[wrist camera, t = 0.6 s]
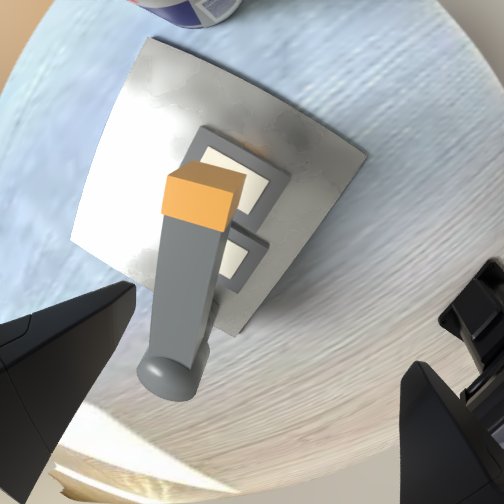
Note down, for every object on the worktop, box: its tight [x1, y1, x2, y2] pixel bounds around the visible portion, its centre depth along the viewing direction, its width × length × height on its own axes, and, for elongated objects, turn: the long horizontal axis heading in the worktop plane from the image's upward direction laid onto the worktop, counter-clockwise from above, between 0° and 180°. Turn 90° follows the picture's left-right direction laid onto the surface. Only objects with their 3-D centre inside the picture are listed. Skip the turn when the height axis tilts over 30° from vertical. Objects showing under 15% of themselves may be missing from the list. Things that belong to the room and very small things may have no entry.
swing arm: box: [137, 160, 247, 402], centre depth 16 cm, size 13×4×3 cm, turn 165°
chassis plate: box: [71, 37, 367, 341], centre depth 18 cm, size 15×16×4 cm
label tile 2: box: [217, 224, 269, 294], centre depth 21 cm, size 6×4×1 cm, turn 60°
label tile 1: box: [179, 125, 292, 233], centre depth 19 cm, size 6×4×1 cm, turn 60°
